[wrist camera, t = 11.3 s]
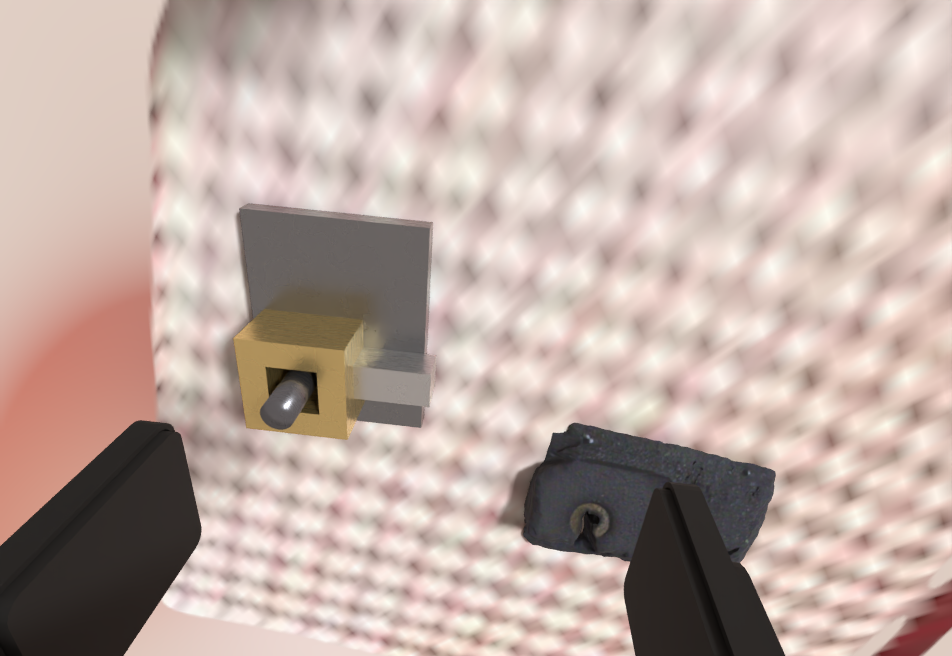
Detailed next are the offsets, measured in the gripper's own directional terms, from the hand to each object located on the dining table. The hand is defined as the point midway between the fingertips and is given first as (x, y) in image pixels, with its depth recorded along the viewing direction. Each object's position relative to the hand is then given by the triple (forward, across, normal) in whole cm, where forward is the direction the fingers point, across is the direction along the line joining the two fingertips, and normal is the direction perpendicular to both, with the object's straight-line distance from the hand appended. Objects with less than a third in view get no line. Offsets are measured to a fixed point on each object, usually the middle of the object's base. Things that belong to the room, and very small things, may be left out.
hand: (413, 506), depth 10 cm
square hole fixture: (+30, +11, +12) cm, 34 cm away
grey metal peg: (+29, +13, +15) cm, 35 cm away
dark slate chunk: (+31, -17, +28) cm, 45 cm away
